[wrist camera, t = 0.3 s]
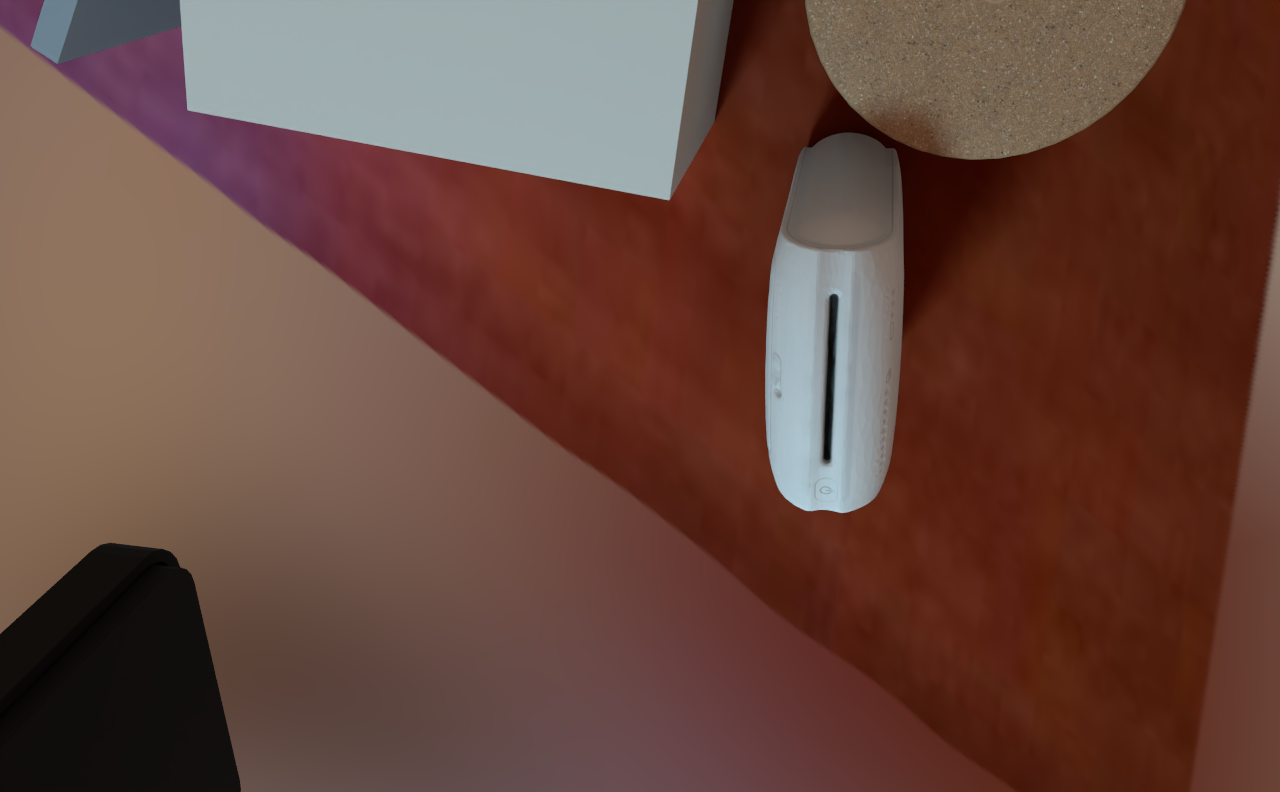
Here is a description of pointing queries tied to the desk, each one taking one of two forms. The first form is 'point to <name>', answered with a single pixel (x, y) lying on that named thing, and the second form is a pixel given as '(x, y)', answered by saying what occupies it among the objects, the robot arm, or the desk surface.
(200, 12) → the storage box
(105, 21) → the side door
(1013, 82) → the lidded jar
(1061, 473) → the desk surface
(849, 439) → the photo printer
